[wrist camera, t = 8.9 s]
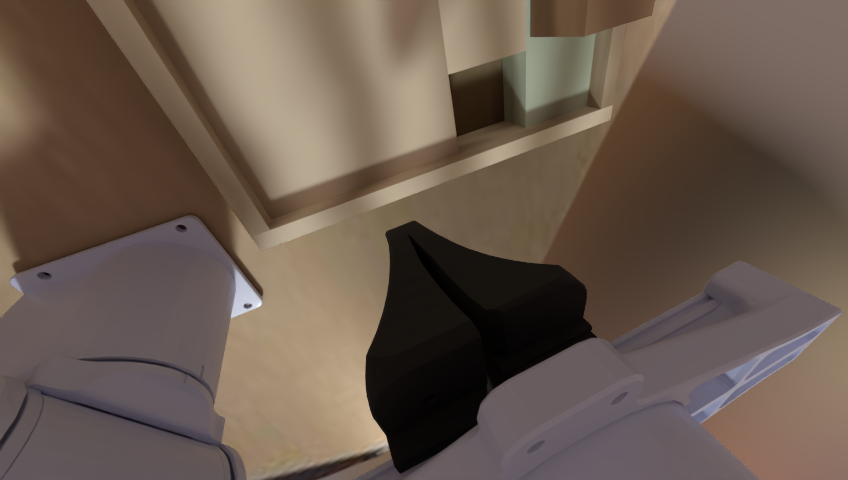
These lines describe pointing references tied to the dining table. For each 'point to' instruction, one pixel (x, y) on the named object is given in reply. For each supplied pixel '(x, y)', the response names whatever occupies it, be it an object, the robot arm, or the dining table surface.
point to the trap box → (351, 95)
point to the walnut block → (583, 16)
